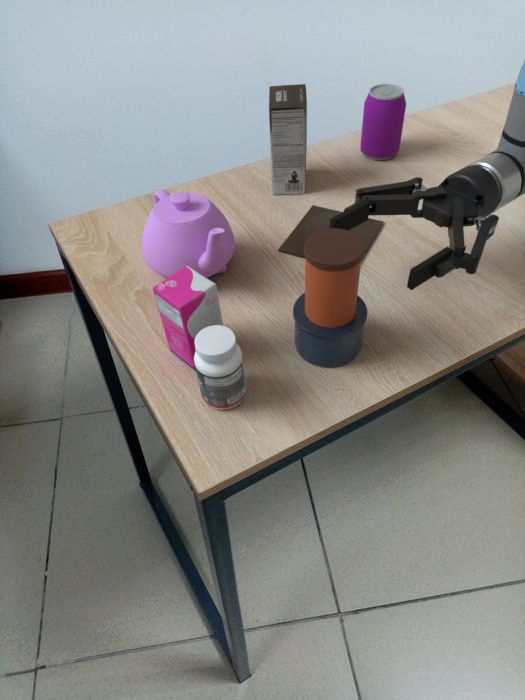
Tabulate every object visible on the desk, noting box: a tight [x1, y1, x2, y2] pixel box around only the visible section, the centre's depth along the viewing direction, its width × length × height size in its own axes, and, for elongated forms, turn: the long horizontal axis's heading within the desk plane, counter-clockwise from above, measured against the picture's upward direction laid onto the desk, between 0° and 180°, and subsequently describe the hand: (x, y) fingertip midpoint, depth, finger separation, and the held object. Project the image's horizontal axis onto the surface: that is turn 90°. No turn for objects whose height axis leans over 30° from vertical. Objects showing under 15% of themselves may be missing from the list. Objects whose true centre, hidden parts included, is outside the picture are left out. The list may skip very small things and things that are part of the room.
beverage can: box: [360, 83, 407, 161], centre depth 102 cm, size 8×8×12 cm
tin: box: [292, 292, 368, 369], centre depth 69 cm, size 9×9×6 cm
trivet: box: [277, 204, 384, 259], centre depth 88 cm, size 13×14×1 cm
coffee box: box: [268, 83, 308, 196], centre depth 94 cm, size 9×6×16 cm
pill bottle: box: [194, 325, 247, 411], centre depth 63 cm, size 6×6×10 cm
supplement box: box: [152, 266, 224, 372], centre depth 68 cm, size 6×6×12 cm
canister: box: [304, 228, 365, 328], centre depth 64 cm, size 7×7×10 cm
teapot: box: [141, 189, 236, 279], centre depth 79 cm, size 20×14×12 cm
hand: (368, 253), depth 66 cm, fingers open, 13 cm apart
